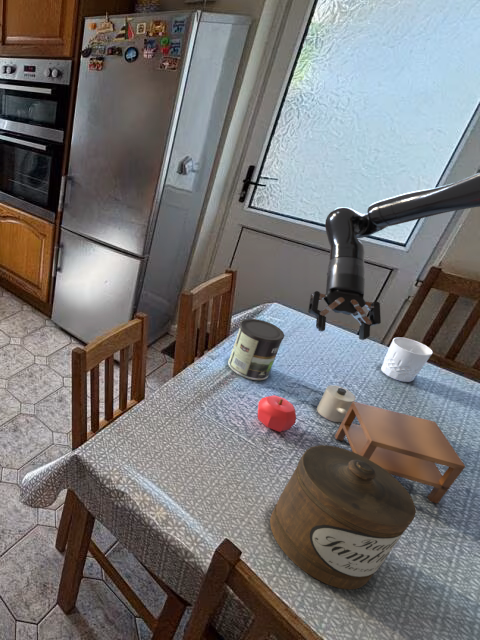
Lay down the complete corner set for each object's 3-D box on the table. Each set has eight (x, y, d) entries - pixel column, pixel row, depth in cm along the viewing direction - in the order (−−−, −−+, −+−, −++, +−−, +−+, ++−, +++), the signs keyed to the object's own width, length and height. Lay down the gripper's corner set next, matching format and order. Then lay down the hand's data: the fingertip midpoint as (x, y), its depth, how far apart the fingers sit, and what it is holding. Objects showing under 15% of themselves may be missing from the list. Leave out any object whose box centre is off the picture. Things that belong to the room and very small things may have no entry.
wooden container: (314, 595, 70) (367, 514, 60) (251, 509, 83) (287, 432, 73) (393, 585, 71) (458, 504, 61) (319, 502, 84) (362, 425, 75)
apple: (260, 406, 107) (270, 383, 104) (296, 426, 102) (307, 402, 98) (247, 420, 103) (256, 396, 100) (283, 442, 97) (294, 417, 94)
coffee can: (271, 367, 121) (287, 327, 115) (264, 386, 114) (281, 345, 108) (232, 352, 127) (245, 314, 121) (223, 369, 120) (236, 329, 114)
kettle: (314, 402, 108) (325, 379, 105) (340, 409, 106) (353, 386, 103) (322, 424, 102) (334, 400, 98) (350, 432, 100) (364, 408, 96)
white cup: (380, 376, 117) (395, 348, 112) (375, 361, 123) (390, 334, 118) (418, 387, 113) (436, 359, 108) (412, 371, 118) (428, 343, 114)
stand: (411, 457, 93) (435, 421, 88) (437, 503, 84) (465, 466, 79) (334, 435, 99) (352, 401, 94) (350, 477, 89) (371, 440, 84)
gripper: (319, 267, 111) (314, 325, 106) (387, 278, 105) (386, 339, 101) (307, 276, 117) (302, 331, 113) (371, 286, 112) (369, 344, 107)
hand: (342, 335), depth 107 cm, fingers open, 8 cm apart
